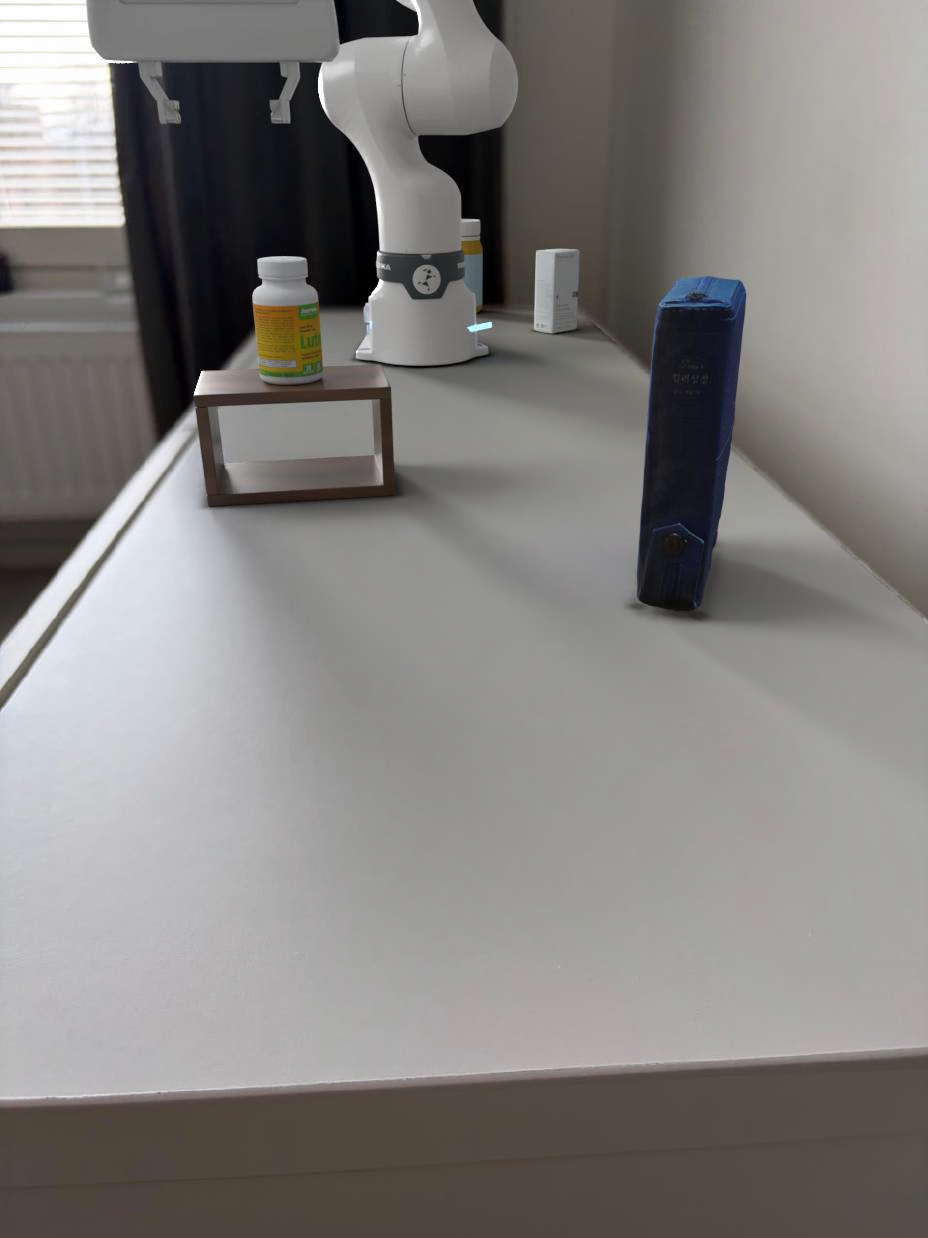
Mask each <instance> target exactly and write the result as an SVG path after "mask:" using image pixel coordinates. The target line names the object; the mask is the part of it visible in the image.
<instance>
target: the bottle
mask: <svg viewBox="0 0 928 1238" xmlns="http://www.w3.org/2000/svg"><path fill="white" fill-rule="evenodd" d="M461 249H462V250H463V251H464V258H465V277H464V278H463V281H464V283H465V285H466V286H467V287H468V288H469V289H470V290H471V291H472V293H474V294H475V299H476V314H477V313H480V312H481V310H482V308H483V276H484V275H483V271H484V270H483V269H484V268H483V267H484V266H483V263H484V261H483V260H484V257H483V255H484V253H483V245H482V243H481V220H480V219H475V218H461Z"/></svg>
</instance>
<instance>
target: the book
mask: <svg viewBox="0 0 928 1238" xmlns="http://www.w3.org/2000/svg"><path fill="white" fill-rule="evenodd" d="M746 303H747V291H746V288H745V285H744V283H743V282H742V281H741V280H740V279H731V278H724V277H723V278H722V277H717V276H713V275H712V276H711V275H706V276H698V277H697V276H696V277H680V278H677V279H676V281H675V282H674V283H673V285H672V287H671V289H670V291H669V292H667V293H666V295H664V296H663V298H662V299H661V300H660V301H659V304H658V305H657V308H656V315H655V317H654V319H655V322H654V326H653V328H654V329H653V339H652V347H651V361H650V370H649V371H650V372H649V387H648V399H647V417H646V434H645V435H646V436H645V446H644V461H643V475H642V476H643V478H642V493H641V494H642V495H641V505H640V517H639V518H640V519H639V537H638V538H639V539H638V549H637V550H638V551H637V563H636V564H637V565H636V597H637V600H638V601H639V602H641V603H642V604H644V605H646V606H648V607H649V606H650V607H655V608H659V609H665V610H668V611H672V612H688V613H690V612H694V611H695V610H697V608H699V607H700V606H701V605H702V601H703V598H704V597H703V595H704V590H705V587H706V583H707V579H708V576H709V572H710V569H711V565H712V558H713V557H712V556H713V552H714V548H715V547H716V545H717V541H718V534H719V524H720V520H721V517H722V512H723V511H722V510H723V505H724V501H725V493H726V491H725V490H726V481H727V475H728V474H727V473H728V467H729V461H730V456H731V450H732V441H733V431H734V425H735V419H736V400H737V393H738V383H739V372H740V364H741V355H742V344H743V333H744V325H745V324H744V323H745V318H746Z"/></svg>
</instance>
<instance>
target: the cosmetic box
mask: <svg viewBox="0 0 928 1238" xmlns="http://www.w3.org/2000/svg"><path fill="white" fill-rule="evenodd" d="M580 253H581V252H580V250H579V249H575V248H549V249H540V250H538V249H537V250H536V251H535V275H534V278H535V279H534V313H533V314H534V315H533V318H534V319H533V321H534V322H533V330H534V331H536V332H540V333H545V334H556V333H562V332H568V331H574V330H577V328H578V302H579V278H580Z"/></svg>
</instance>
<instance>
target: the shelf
mask: <svg viewBox="0 0 928 1238" xmlns="http://www.w3.org/2000/svg"><path fill="white" fill-rule="evenodd" d="M368 400H369V401H370V400H371V406H372V407H371V409H372V426H373V427H372V428H373V429H372V431H373V432H372V433H373V450H374V451H373V452H374V453H373V454H372V455H371V454H368V455H352V456H334V457H333V456H330V457H314V458H313V457H311V458H295V459H278V460H277V459H275V460H274V459H273V460H255V461H240V462H239V461H237V462H225V460H224V453H223V451H224V450H223V444H222V443H223V442H222V435H221V426H220V418H219V417H220V416H219V410H218V407H233V406H236V407H237V406H259V405H278V404H279V405H282V404H302V403H303V404H304V403H306V404H307V403H325V402H347V401H348V402H349V401H350V402H351V401H368ZM193 402H194V407H195V417H196V424H197V425H196V426H197V432H198V439H199V448H200V455H201V463H202V471H203V479H204V486H205V494H206V501H207V502H206V503H207V506H208V507H219V506H220V507H221V506H235V505H236V506H237V505H238V506H239V505H252V504H255V505H256V504H270V503H272V504H273V503H285V502H286V503H287V502H289V503H290V502H304V501H305V502H306V501H320V500H337V499H338V500H339V499H355V498H372V497H386V496H387V497H388V496H390V497H391V496H395V495H396V485H395V484H396V483H395V482H396V481H395V480H396V479H395V456H394V454H395V453H394V427H393V425H394V424H393V400H392V386H391V383H390V382H389V380H388V377H387V375H386V373H385V370H384V368H383V365H382V364H381V363H380V364H379V363H376V364H354V365H353V364H351V365H350V364H349V365H329V366H328V365H327V366H324V365H323V376H322V378H321V379H319V380H317V381H315V382H311V383H306V384H294V385H278V384H270V383H267V382H265V381H263V380H262V379H261V377H260V372H259V368H252V369H250V368H249V369H228V370H227V369H225V370H223V369H222V370H202V371H201V373H200V376H199V378H198V381H197V384H196V388H195V391H194V394H193Z"/></svg>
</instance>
